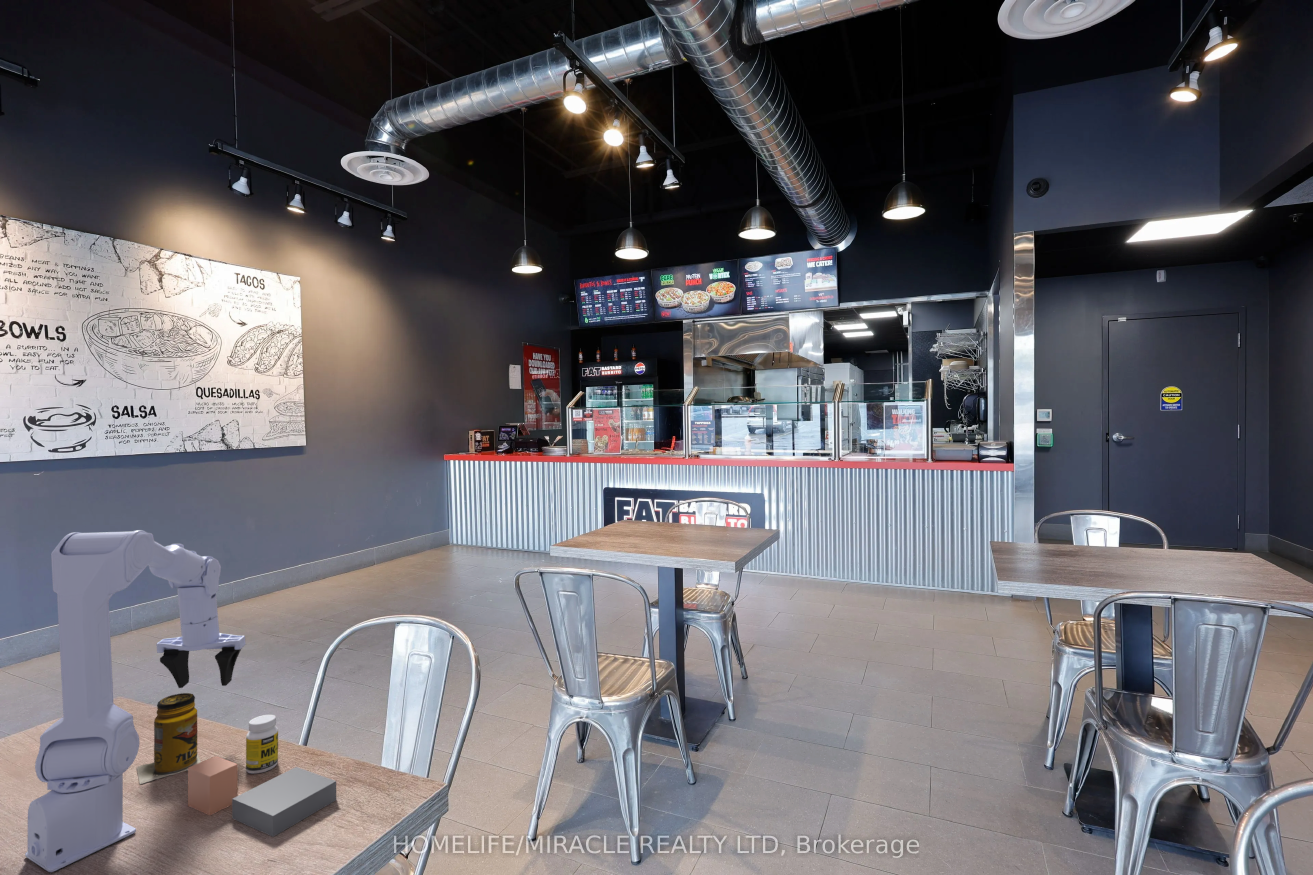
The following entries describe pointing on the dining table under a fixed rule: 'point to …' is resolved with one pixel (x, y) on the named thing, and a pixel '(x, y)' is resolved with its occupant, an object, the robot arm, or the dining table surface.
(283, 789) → the base brick
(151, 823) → the dining table surface
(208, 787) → the top brick
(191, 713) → the condiment
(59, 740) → the robot arm
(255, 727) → the supplement bottle
